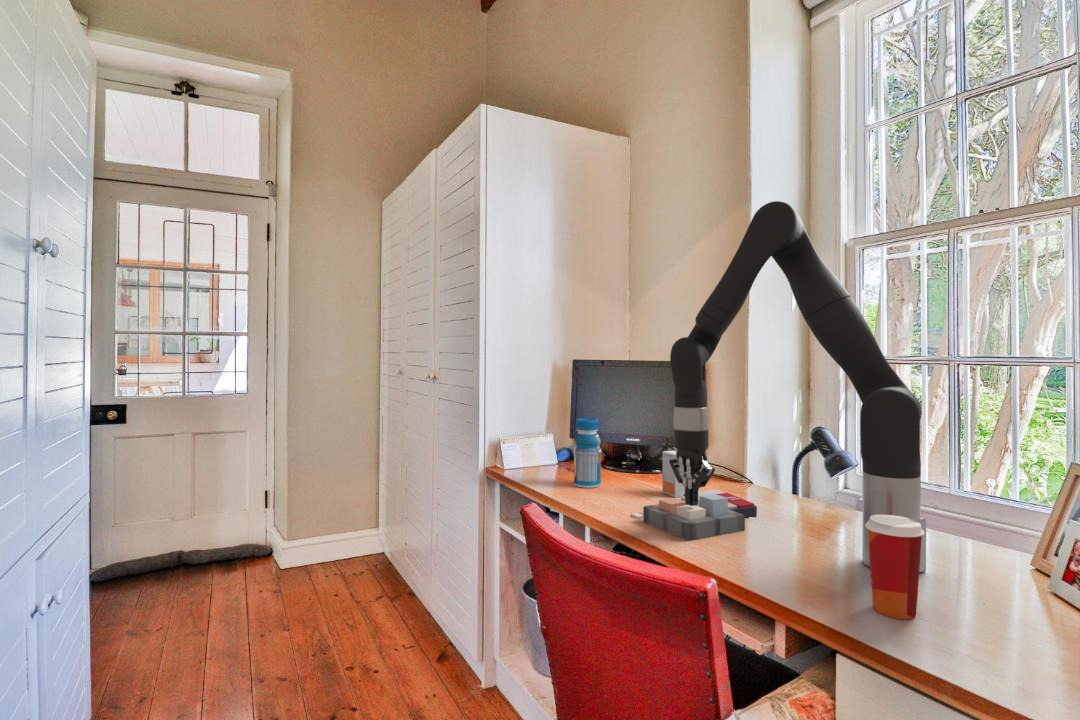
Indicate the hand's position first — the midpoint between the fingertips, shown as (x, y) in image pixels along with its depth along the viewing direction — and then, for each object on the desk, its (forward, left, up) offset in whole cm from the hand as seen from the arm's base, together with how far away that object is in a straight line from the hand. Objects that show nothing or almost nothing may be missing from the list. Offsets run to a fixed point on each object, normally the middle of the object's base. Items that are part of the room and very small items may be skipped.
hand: (691, 504), depth 127 cm
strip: (+15, -3, -6) cm, 16 cm away
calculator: (+10, -17, -7) cm, 21 cm away
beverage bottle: (+49, -2, -6) cm, 50 cm away
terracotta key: (+7, 0, -5) cm, 8 cm away
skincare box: (+28, -18, -6) cm, 34 cm away
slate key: (0, -6, -3) cm, 7 cm away
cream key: (0, 0, -5) cm, 5 cm away
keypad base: (+3, -3, -6) cm, 8 cm away
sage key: (+7, -6, -5) cm, 10 cm away
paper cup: (-45, -1, -6) cm, 45 cm away
